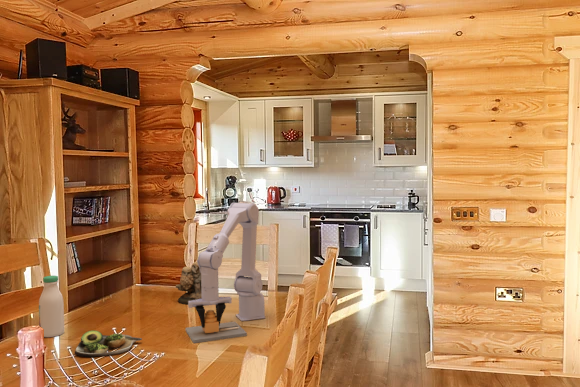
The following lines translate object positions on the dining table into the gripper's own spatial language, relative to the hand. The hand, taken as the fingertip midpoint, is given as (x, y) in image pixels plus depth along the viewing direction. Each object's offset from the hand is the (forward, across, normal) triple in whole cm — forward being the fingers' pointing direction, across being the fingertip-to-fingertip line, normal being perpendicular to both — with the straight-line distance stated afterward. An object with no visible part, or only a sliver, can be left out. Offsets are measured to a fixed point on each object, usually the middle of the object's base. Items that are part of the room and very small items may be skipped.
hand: (210, 326), depth 166 cm
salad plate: (+4, -34, +2) cm, 34 cm away
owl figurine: (+3, +5, +46) cm, 46 cm away
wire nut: (+2, 0, 0) cm, 2 cm away
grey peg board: (+3, +2, +1) cm, 4 cm away
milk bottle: (+3, -50, +23) cm, 55 cm away
